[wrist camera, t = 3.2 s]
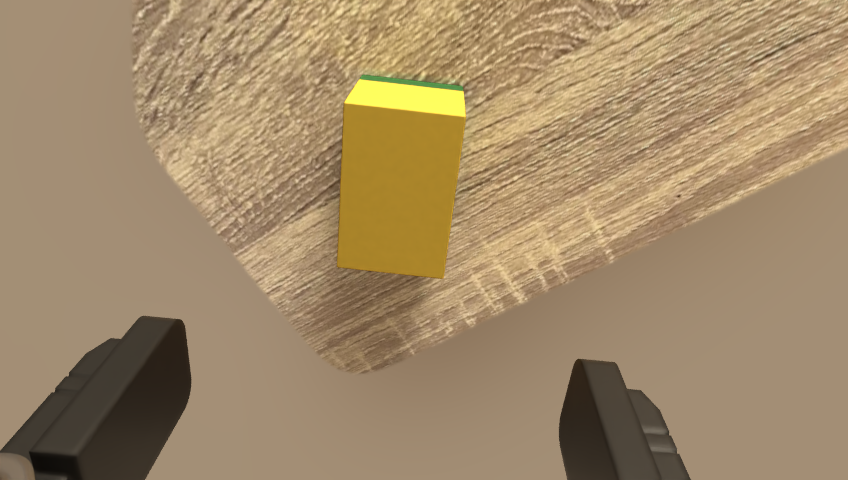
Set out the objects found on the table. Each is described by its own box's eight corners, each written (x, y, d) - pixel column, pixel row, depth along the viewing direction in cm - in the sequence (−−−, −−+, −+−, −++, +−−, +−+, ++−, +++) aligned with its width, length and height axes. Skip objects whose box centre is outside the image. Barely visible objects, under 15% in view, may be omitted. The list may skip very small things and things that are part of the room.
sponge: (353, 217, 29) (336, 267, 24) (361, 74, 26) (343, 102, 21) (444, 227, 29) (443, 279, 25) (463, 85, 26) (466, 116, 21)
